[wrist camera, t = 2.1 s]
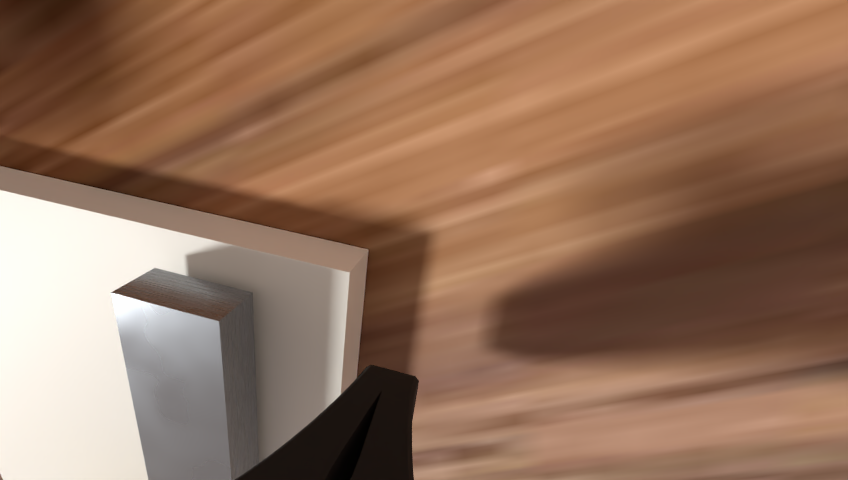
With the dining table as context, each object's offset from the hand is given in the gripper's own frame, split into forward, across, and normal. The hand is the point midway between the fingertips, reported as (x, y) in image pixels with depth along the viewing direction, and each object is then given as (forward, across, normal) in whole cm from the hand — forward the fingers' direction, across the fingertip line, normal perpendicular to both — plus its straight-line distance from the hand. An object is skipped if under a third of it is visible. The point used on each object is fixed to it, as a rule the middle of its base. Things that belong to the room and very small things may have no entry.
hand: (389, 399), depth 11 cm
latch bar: (0, +6, +4) cm, 7 cm away
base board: (+2, +10, +6) cm, 12 cm away
